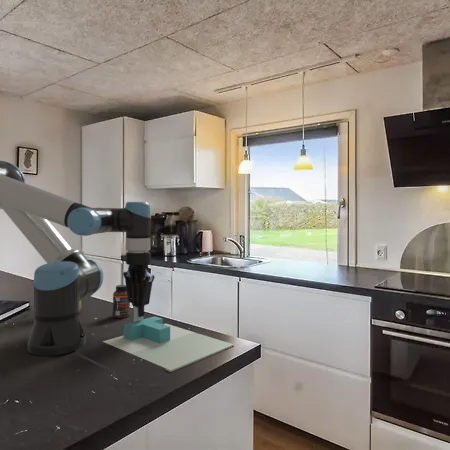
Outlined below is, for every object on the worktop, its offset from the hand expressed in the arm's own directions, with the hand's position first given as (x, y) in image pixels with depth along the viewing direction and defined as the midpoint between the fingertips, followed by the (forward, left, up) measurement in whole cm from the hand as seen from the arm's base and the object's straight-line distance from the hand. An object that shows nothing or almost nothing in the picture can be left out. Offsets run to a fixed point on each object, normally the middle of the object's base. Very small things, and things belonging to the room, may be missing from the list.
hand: (138, 326), depth 121 cm
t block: (0, -7, -2) cm, 7 cm away
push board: (0, -14, -3) cm, 14 cm away
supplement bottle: (+8, +21, -3) cm, 23 cm away
